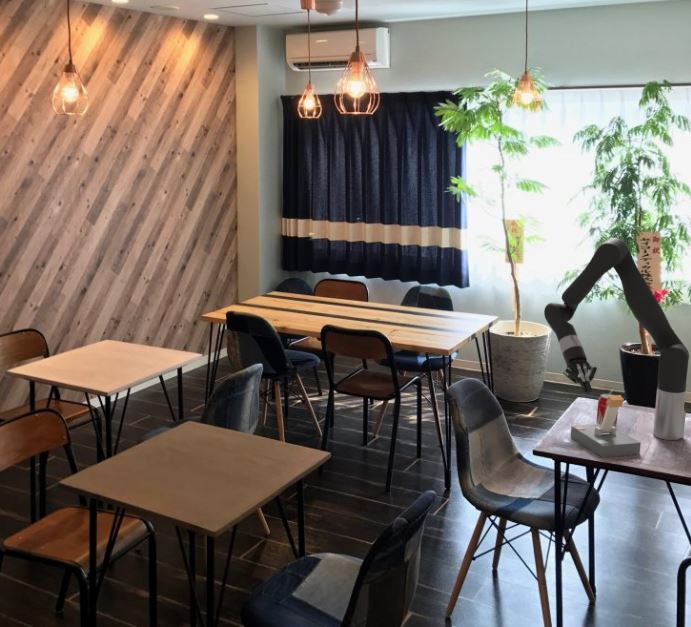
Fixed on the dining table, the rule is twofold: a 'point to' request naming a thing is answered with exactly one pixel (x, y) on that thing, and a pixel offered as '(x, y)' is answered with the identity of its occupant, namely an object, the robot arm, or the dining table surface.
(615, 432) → the switch panel
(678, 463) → the dining table surface
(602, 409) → the soda can
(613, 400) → the lever
